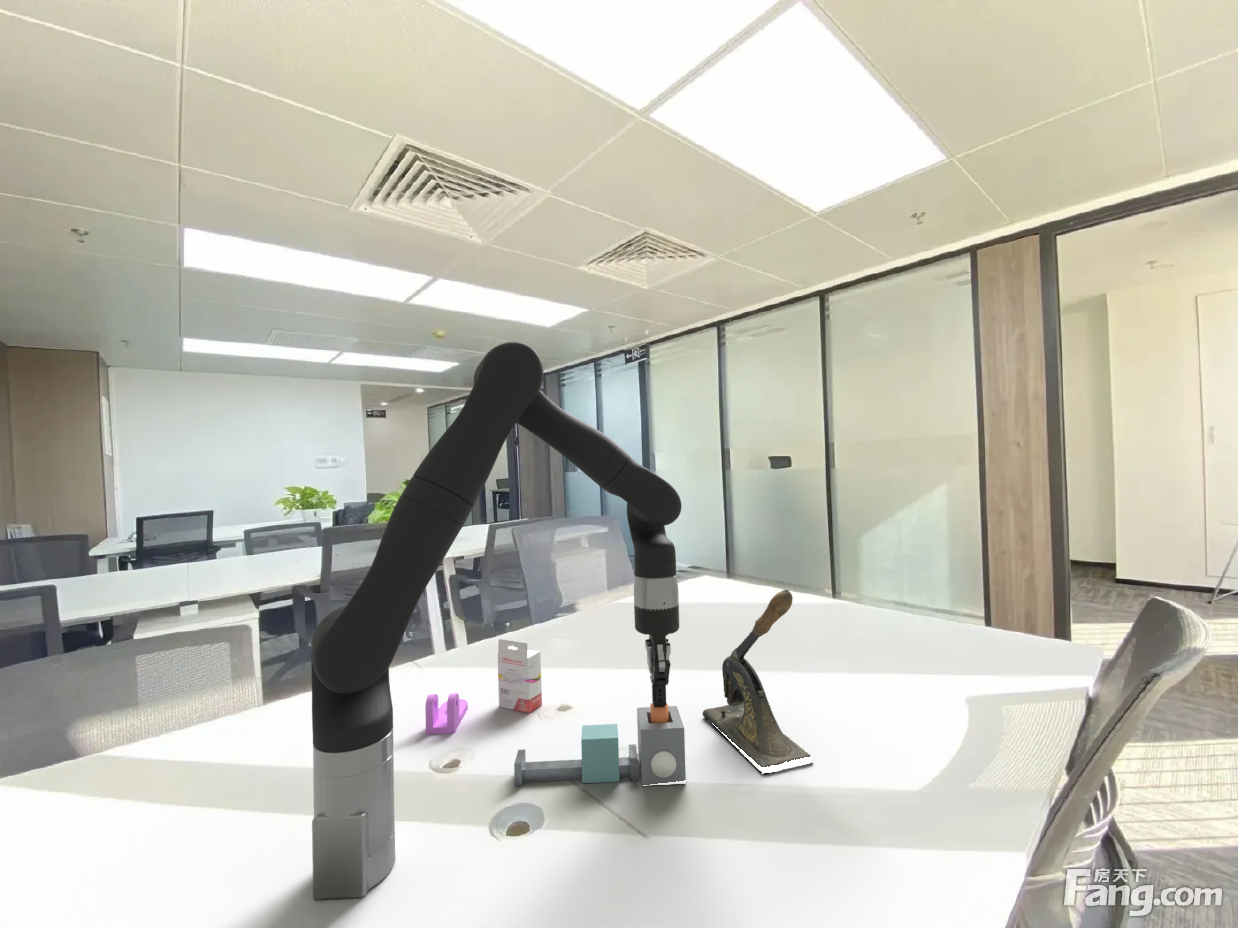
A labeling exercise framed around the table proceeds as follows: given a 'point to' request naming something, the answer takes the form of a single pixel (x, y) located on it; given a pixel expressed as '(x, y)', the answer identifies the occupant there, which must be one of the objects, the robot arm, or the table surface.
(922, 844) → the table surface
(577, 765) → the rail
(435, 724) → the bracket
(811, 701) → the table surface
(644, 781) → the cabinet
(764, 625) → the embossing press
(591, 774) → the block
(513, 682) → the ink cartridge box
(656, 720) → the gauge button
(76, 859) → the table surface
